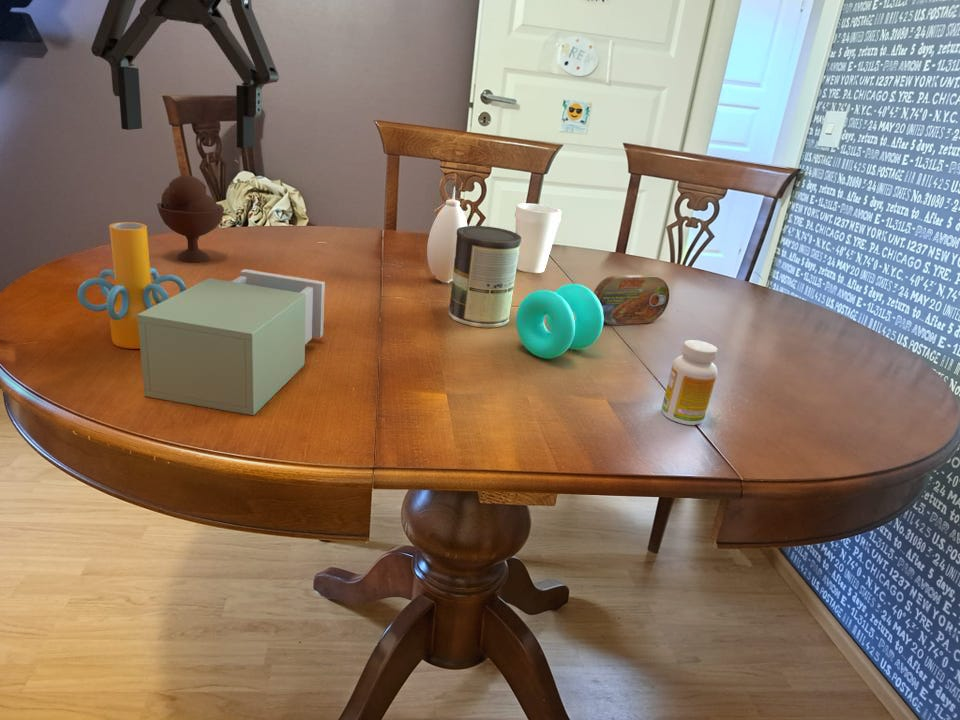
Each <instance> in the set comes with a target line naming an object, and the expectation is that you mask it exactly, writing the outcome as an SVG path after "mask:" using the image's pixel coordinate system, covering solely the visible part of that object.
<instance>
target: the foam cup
mask: <svg viewBox="0 0 960 720" xmlns="http://www.w3.org/2000/svg"><path fill="white" fill-rule="evenodd" d="M514 212H515V213H514V217H515V233H516V234H518V235H520V236H521V238H522V239H521V243H520V246H519V253H518V260H517V267H516V270H518V271H521V272H524V273H530V274H534V273H535V274H539V273H543V272H545V269H546V267H547V263H548V260H549V256H550V253H551V250H552V246H553V243H554V239H555V236H556V233H557V229H558V227H559V224H560V223H561V217H562V210H561V209H560V208H557V207H554V206H551V205H546V204H539V203H530V202H529V203H528V202H524V203H522V202H521V203H517V204H516V206H515V211H514Z"/></svg>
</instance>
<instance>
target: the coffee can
mask: <svg viewBox="0 0 960 720" xmlns="http://www.w3.org/2000/svg"><path fill="white" fill-rule="evenodd" d="M521 239H522V238H521V236H520V235H518V234H516V232H514V231H511V230H508V229H505V228H501V227H494V226H485V225H467V226H464V227H460V228H458V229H457V241H456V251H455V260H454V270H453V280H452V281H451V290H450V298H449V309H448V316H449V318H451V319H452V320H454V321H455V322H456V323H460V324H461V325H465V326H470V327H473V328H474V327H475V328H486V329H489V328H500V327H503V326H505V325H507V324H508V323H509V322H510V315H511V314H510V313H511V307H512V300H513V294H514V288H515V287H514V286H515V281H516V272H517V268H516V267H517V260H518V253H519V246H520V243H521Z"/></svg>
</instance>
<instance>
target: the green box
mask: <svg viewBox="0 0 960 720" xmlns="http://www.w3.org/2000/svg"><path fill="white" fill-rule="evenodd" d="M305 316H306V294H305V293H298V292H292V291H286V290H280V289H274V288H267V287H261V286H255V285H249V284H243V283H236V282H231V280H222V279H219V278H218V279H217V278H212V277H209V278H206V279H204V280H202V281H200V282H199V283H196V284H194V285H192V286H191V287H189V288H186V290H185V291H183V292H181V293H180V292H179V293H176V294H175V295H173V296H171V297H169V299H167V300H165V301H163V302H161V303H159V304H157V305H155V306H153V307H151V308H149V309H147V310H145V311H143V312H141V313H139V314H137V318H138V321H139V322H138V328H139V339H140V348H139V349H140V358H141V360H140V361H141V370H142V371H141V372H142V380H143V381H142V383H143V396H144V397H146V398H153V399H157V400H164V401H168V402H174V403H182V404H185V405H191V406H192V405H193V406H198V407H204V408H208V409H215V410H220V411H226V412H231V413H237V414H243V415H248V416H255V415H256V414H257V413H258V412H259V411H260V410H261V409H262V408H263V407H264V406H265V405H266V404H267V403H268V402H269V401H270V400H271V399H272V398H273V397H274V396H275V395H276V394H277V393H278V392H279V391H280V390H281V389H282V388H283V387H284V386H285V385H286V384H287V383H288V382H289V381H290V380H291V379H292V378H293V377H294V376H295V375H296V374H297V373H298V372H299V371H300V370H301V369H302V368H303V367H304V366H305V364H306V362H305V361H306V360H305V359H306V345H305Z"/></svg>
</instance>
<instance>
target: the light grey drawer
mask: <svg viewBox="0 0 960 720" xmlns="http://www.w3.org/2000/svg"><path fill="white" fill-rule="evenodd" d="M230 282H236V283H243V284H249V285H255V286H261V287H267V288H274V289H280V290H286V291H292V292H298V293H305V294H306V316H305V346H306V345H307V344H308V343H309V342H310V341H312V339H313V338H318V339H321V338H322V337H323V336H324V327H325V325H324V324H325V296H326V295H325V291H326V290H325V289H326V282H325V281H323V280H317V279H316V280H315V279H310V278H305V277H303V278H302V277H297V276H291V275H285V274H279V273H278V274H277V273H272V272H267V271H260V270H254V269H246V268H244V269H242V270H240V276H238V277H237V278H235V279H232V280H230Z"/></svg>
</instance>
